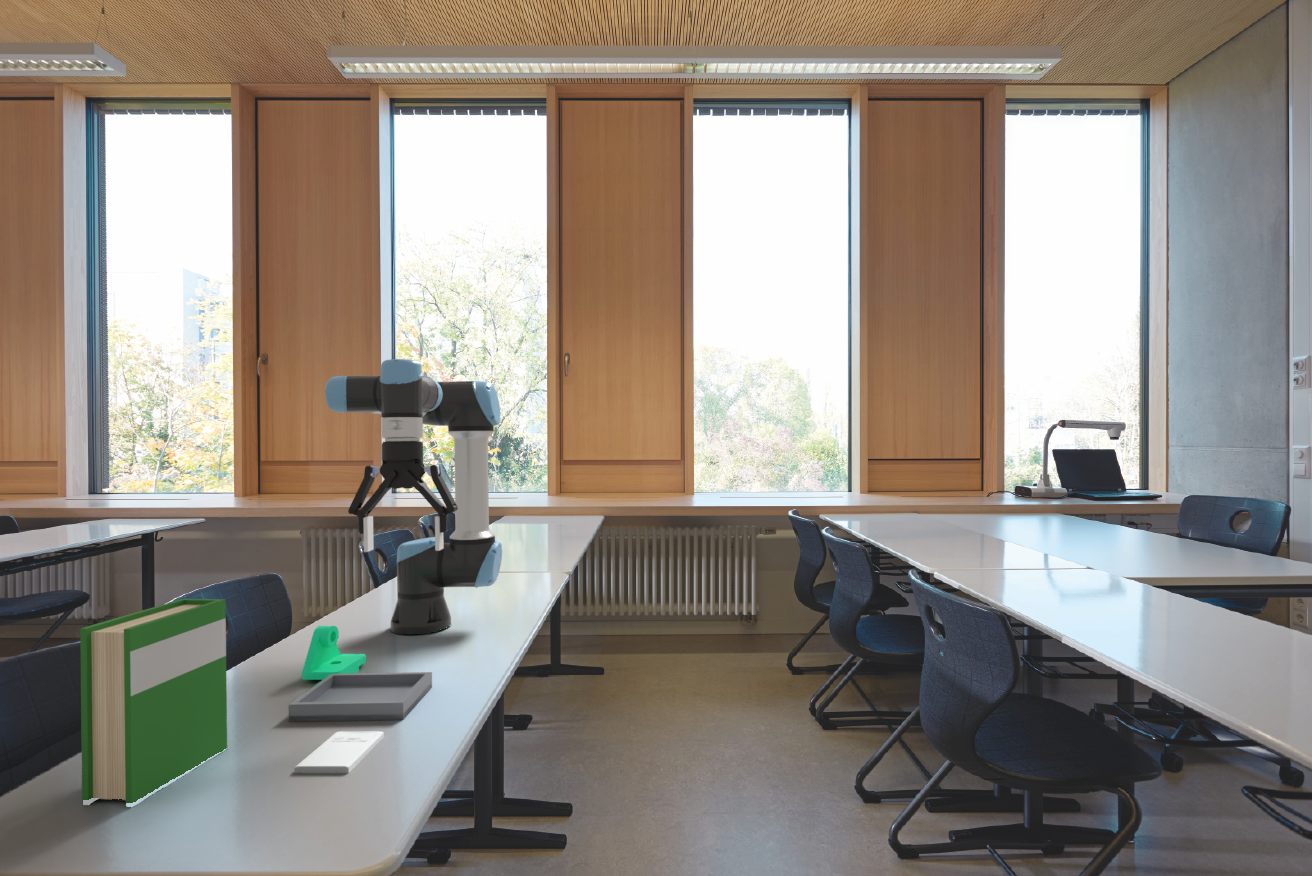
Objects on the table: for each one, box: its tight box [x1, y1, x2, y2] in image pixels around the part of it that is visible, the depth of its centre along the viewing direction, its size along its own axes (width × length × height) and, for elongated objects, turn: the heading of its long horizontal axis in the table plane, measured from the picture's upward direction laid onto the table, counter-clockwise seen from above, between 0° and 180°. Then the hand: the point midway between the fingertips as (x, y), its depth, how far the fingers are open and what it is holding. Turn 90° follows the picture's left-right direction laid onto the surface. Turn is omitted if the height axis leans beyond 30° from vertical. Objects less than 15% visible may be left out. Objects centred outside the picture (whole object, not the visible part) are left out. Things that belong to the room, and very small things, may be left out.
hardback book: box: [79, 598, 228, 803], centre depth 102 cm, size 18×7×24 cm, turn 174°
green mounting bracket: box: [301, 625, 367, 681], centre depth 146 cm, size 12×8×10 cm, turn 176°
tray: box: [288, 671, 433, 723], centre depth 129 cm, size 16×20×3 cm
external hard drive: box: [293, 730, 385, 774], centre depth 108 cm, size 2×8×12 cm
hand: (404, 550), depth 133 cm, fingers open, 13 cm apart
